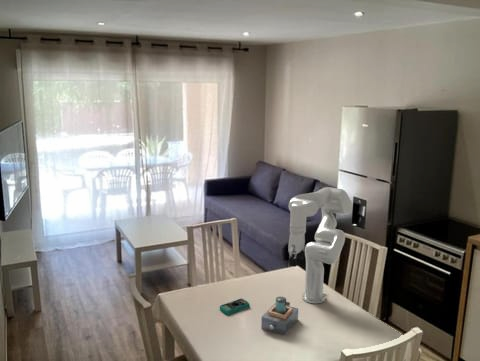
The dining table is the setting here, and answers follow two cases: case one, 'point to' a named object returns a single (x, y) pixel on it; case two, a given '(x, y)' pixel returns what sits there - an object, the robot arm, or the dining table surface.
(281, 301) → the cylinder
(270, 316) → the grey box
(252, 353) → the dining table surface
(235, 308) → the digital multimeter
